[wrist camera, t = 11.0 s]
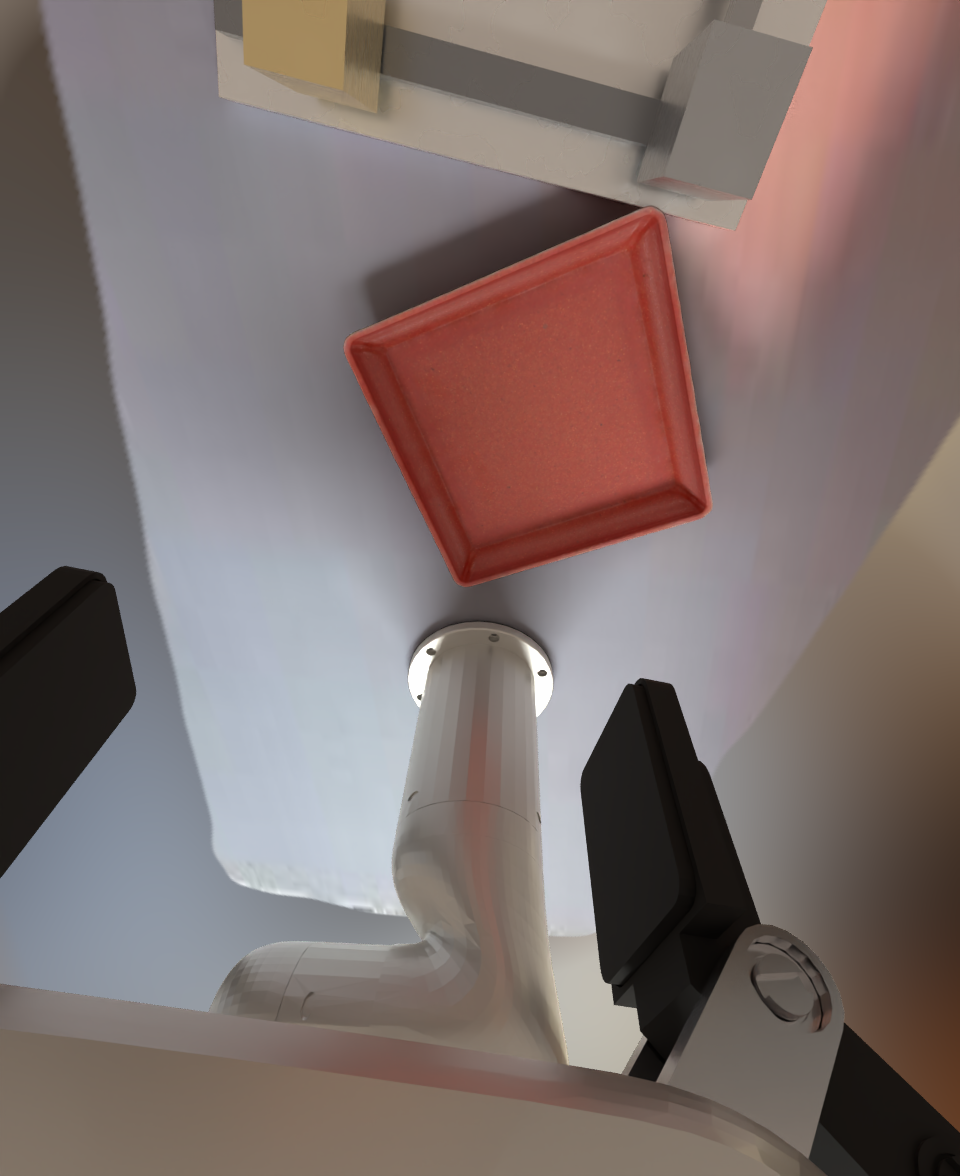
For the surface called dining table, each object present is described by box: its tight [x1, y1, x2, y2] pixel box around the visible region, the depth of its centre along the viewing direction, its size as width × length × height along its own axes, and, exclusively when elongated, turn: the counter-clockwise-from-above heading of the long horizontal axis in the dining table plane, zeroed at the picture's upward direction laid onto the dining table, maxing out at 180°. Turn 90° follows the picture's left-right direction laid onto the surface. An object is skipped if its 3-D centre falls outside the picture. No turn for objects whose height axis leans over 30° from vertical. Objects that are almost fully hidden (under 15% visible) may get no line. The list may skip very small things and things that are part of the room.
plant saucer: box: [343, 205, 713, 587], centre depth 35 cm, size 18×18×3 cm
